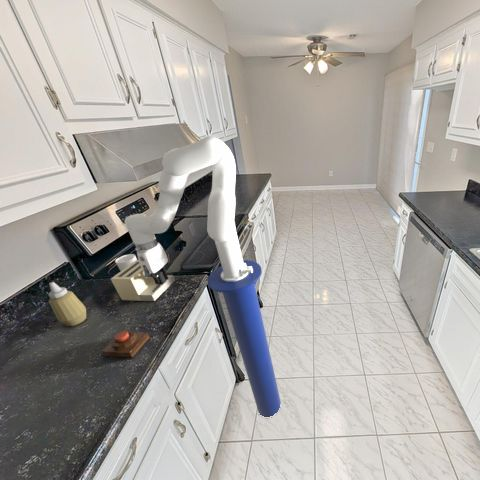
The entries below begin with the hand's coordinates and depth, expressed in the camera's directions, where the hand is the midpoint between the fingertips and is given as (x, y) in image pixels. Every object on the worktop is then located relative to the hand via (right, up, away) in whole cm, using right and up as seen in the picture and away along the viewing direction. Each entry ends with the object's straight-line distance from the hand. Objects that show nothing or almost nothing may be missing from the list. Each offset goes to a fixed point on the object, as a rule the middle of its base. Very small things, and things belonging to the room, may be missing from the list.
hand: (162, 281), depth 110 cm
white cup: (-21, 0, +12) cm, 24 cm away
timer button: (+5, -14, -28) cm, 32 cm away
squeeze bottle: (-24, -13, -14) cm, 30 cm away
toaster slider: (0, 0, 0) cm, 0 cm away
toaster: (-6, -4, +1) cm, 7 cm away
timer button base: (+5, -17, -26) cm, 32 cm away
